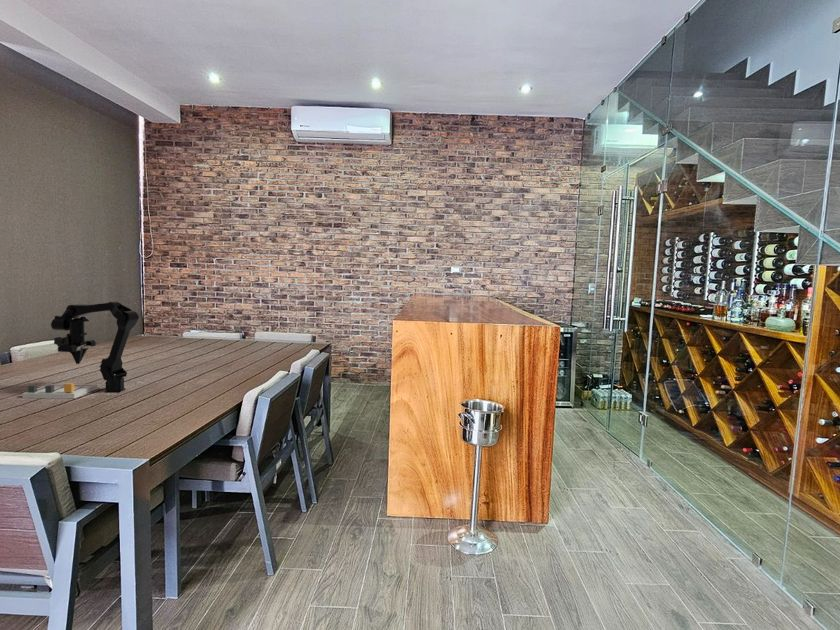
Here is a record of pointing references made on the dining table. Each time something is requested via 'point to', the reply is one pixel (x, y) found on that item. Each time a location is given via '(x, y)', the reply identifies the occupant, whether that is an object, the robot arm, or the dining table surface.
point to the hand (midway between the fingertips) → (77, 363)
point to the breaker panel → (57, 391)
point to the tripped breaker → (69, 387)
